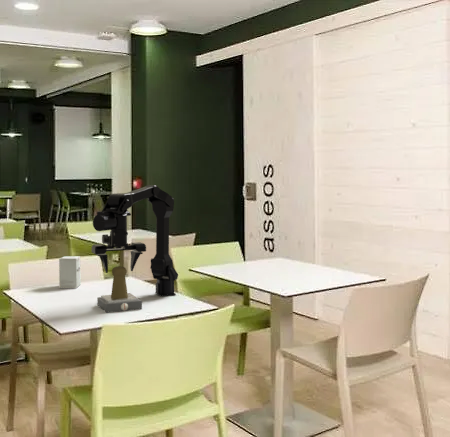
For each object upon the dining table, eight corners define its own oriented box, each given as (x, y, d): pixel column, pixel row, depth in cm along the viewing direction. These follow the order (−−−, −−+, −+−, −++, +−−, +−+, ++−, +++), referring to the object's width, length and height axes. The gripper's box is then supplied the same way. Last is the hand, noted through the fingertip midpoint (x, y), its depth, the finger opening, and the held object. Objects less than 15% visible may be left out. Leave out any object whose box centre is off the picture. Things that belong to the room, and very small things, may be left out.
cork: (124, 299, 219) (124, 268, 219) (108, 298, 221) (108, 267, 220) (130, 295, 225) (130, 265, 224) (114, 294, 227) (114, 265, 226)
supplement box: (76, 288, 256) (76, 258, 255) (59, 288, 256) (58, 258, 255) (81, 285, 264) (80, 256, 263) (63, 285, 264) (63, 255, 263)
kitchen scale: (131, 302, 232) (131, 292, 231) (142, 309, 220) (142, 298, 220) (97, 305, 226) (97, 295, 225) (106, 313, 215) (106, 302, 214)
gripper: (136, 225, 232) (137, 266, 234) (87, 227, 224) (88, 270, 226) (146, 228, 222) (146, 271, 224) (95, 230, 214) (95, 275, 216)
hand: (119, 271), depth 222 cm, fingers open, 9 cm apart
